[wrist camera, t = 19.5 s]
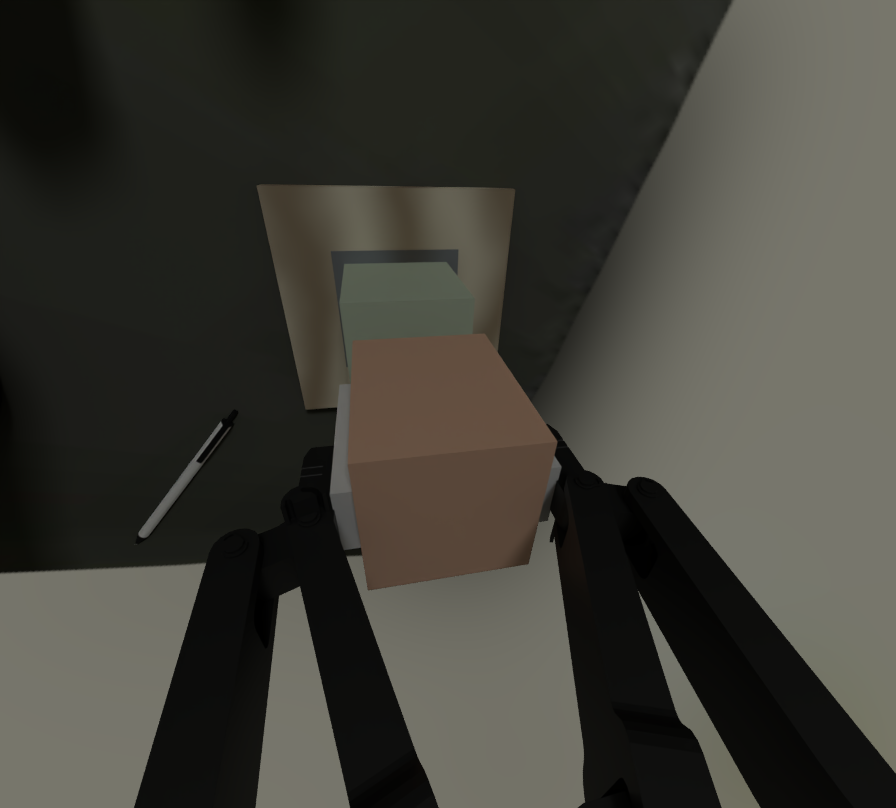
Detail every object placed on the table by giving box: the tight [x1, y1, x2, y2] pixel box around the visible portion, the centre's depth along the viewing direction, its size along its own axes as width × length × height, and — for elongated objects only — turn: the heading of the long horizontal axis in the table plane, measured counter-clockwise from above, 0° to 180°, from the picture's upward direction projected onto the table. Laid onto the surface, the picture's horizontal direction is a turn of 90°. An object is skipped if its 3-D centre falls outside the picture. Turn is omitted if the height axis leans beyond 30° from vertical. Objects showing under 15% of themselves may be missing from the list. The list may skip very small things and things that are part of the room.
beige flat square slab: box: [257, 184, 515, 410], centre depth 29 cm, size 16×16×1 cm
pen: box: [136, 410, 238, 545], centre depth 34 cm, size 1×19×1 cm, turn 137°
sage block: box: [339, 262, 475, 384], centre depth 25 cm, size 7×7×8 cm
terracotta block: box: [348, 334, 557, 590], centre depth 16 cm, size 6×6×8 cm
